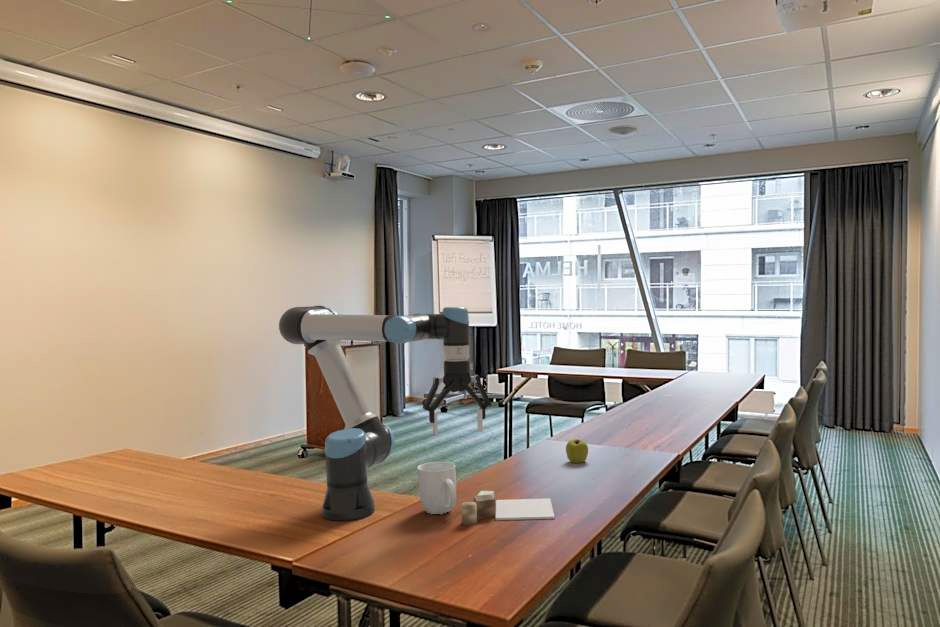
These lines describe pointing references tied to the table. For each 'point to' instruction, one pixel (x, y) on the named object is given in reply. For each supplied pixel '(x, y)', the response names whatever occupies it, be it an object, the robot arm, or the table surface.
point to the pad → (524, 509)
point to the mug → (437, 486)
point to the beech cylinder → (469, 513)
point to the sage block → (486, 493)
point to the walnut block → (485, 506)
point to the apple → (577, 450)
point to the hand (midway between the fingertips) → (457, 432)
